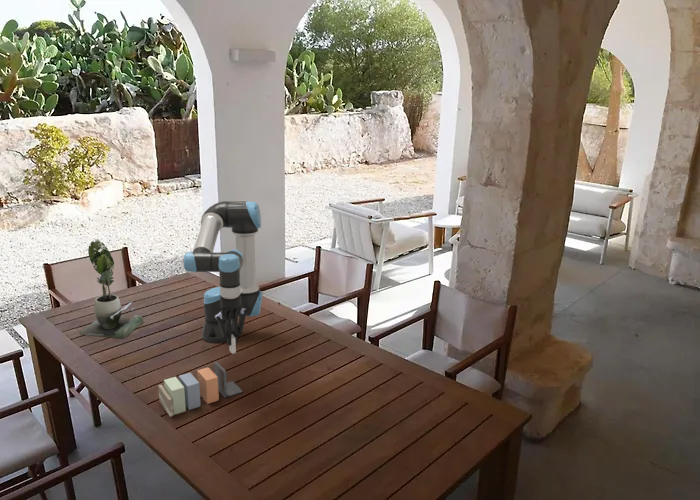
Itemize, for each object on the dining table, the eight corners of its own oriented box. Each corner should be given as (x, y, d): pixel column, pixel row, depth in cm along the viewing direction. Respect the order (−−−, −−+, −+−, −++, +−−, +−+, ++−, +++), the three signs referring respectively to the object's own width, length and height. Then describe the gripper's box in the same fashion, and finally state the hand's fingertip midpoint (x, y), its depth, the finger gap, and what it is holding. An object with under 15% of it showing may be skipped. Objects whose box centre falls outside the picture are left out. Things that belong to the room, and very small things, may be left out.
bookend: (233, 382, 231) (232, 357, 228) (242, 392, 224) (241, 366, 221) (215, 387, 227) (214, 362, 223) (224, 397, 220) (223, 371, 217)
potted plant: (143, 321, 283) (135, 234, 270) (123, 338, 265) (114, 246, 252) (102, 318, 286) (92, 231, 272) (79, 334, 268) (68, 242, 255)
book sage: (177, 399, 218) (175, 376, 215) (185, 411, 211) (184, 387, 208) (165, 403, 216) (163, 379, 213) (173, 414, 209) (172, 390, 206)
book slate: (191, 395, 222) (190, 372, 218) (200, 406, 215) (199, 382, 212) (180, 398, 219) (178, 375, 216) (189, 410, 212) (187, 386, 209)
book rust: (209, 389, 226) (208, 367, 223) (218, 400, 219) (217, 377, 216) (198, 393, 223) (197, 370, 220) (207, 403, 216) (206, 380, 213)
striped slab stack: (204, 387, 227) (204, 372, 225) (216, 401, 218) (216, 385, 216) (159, 401, 217) (158, 385, 215) (170, 416, 208) (168, 399, 205)
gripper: (242, 288, 221) (244, 343, 229) (210, 295, 214) (212, 352, 221) (250, 295, 216) (252, 351, 223) (218, 302, 208) (220, 360, 215)
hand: (232, 351), depth 222 cm, fingers closed
